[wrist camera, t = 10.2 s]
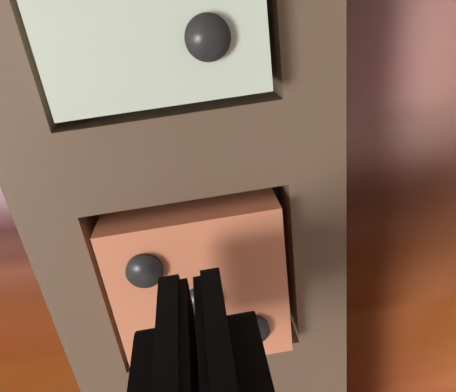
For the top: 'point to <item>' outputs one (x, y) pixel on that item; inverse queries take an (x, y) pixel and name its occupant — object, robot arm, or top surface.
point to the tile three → (198, 259)
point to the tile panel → (189, 187)
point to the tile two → (146, 53)
